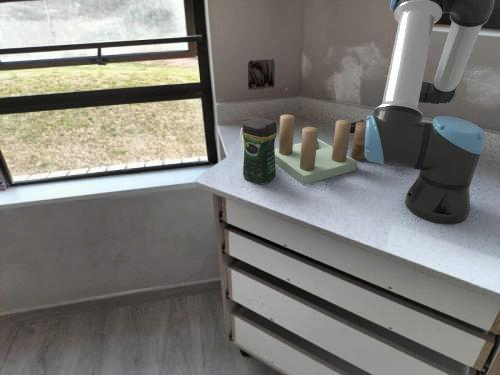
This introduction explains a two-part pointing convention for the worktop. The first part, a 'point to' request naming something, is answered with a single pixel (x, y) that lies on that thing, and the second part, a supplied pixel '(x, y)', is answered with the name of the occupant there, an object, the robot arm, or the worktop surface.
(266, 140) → the coffee jar
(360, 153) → the walnut leg
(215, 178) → the worktop surface
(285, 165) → the upturned stool
